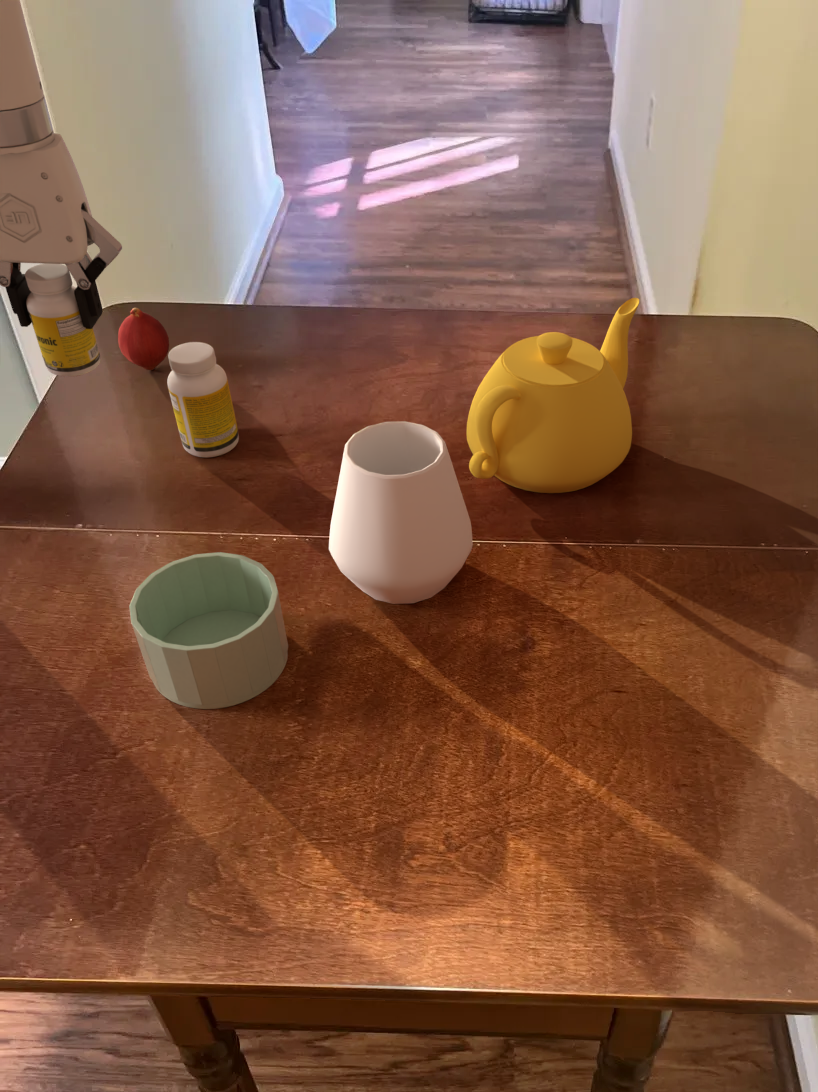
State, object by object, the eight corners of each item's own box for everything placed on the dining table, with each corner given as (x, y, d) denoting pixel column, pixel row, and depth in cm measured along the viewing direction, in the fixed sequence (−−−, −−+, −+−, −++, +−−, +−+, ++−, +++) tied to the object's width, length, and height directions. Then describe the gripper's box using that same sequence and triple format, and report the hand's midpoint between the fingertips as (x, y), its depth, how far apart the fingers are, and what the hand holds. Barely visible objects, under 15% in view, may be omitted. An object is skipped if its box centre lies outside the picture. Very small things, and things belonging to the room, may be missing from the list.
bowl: (133, 708, 81) (111, 648, 76) (169, 610, 90) (151, 550, 85) (275, 711, 81) (262, 652, 76) (298, 612, 89) (288, 553, 85)
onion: (128, 359, 122) (111, 297, 116) (175, 355, 123) (161, 294, 117) (125, 383, 118) (107, 320, 112) (174, 378, 119) (159, 316, 113)
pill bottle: (250, 436, 110) (233, 345, 102) (218, 465, 106) (197, 372, 98) (205, 423, 112) (185, 333, 104) (171, 451, 108) (147, 359, 100)
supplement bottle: (37, 362, 100) (7, 268, 93) (88, 347, 103) (62, 254, 96) (59, 384, 97) (30, 288, 90) (110, 367, 100) (86, 273, 93)
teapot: (568, 379, 119) (577, 269, 109) (687, 437, 110) (708, 323, 101) (416, 462, 106) (410, 346, 97) (536, 535, 98) (543, 415, 88)
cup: (316, 612, 90) (297, 486, 80) (350, 522, 99) (337, 400, 89) (461, 626, 88) (460, 501, 78) (482, 534, 98) (483, 412, 88)
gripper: (-117, 133, 81) (-41, 336, 94) (90, 140, 81) (138, 343, 94) (-78, 105, 87) (-12, 301, 99) (116, 112, 87) (158, 307, 99)
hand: (61, 319), depth 96 cm, fingers closed on supplement bottle, 5 cm apart
